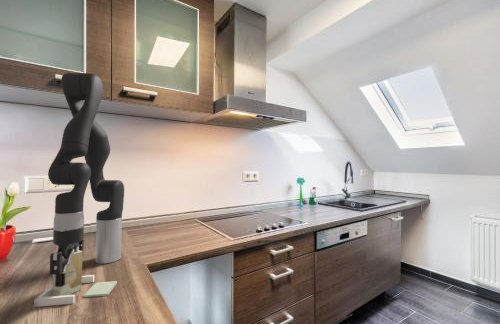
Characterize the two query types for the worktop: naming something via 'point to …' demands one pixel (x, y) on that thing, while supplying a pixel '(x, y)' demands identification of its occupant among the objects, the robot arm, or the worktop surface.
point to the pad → (100, 289)
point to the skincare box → (70, 276)
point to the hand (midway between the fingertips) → (67, 279)
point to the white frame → (59, 300)
